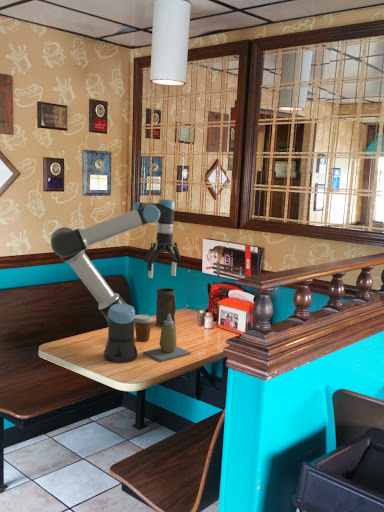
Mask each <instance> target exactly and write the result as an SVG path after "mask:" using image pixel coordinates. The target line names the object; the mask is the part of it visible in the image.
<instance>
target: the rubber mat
mask: <svg viewBox="0 0 384 512" xmlns="http://www.w3.org/2000/svg"><path fill="white" fill-rule="evenodd" d="M142 353H143V355H145V356H146V357H149V358H150V359H153V360H156V361H158V362H160V363H162V362H167V361H171V360H174V359H178V358H182V357H186V356H190V355H192V351H189V350H186V349H184V348H182V347H179V346H177V345H176V347H175V350H174V352H171V353H166V352H162V351H161V347H158V348H154V349H150V350H145V351H143V352H142Z"/></svg>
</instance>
